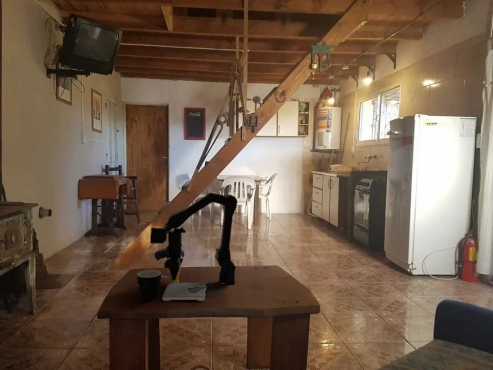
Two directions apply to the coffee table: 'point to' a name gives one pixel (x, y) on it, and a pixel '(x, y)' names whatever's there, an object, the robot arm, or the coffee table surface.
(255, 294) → the coffee table surface
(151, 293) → the mug
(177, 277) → the pressure relief valve
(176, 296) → the stand
